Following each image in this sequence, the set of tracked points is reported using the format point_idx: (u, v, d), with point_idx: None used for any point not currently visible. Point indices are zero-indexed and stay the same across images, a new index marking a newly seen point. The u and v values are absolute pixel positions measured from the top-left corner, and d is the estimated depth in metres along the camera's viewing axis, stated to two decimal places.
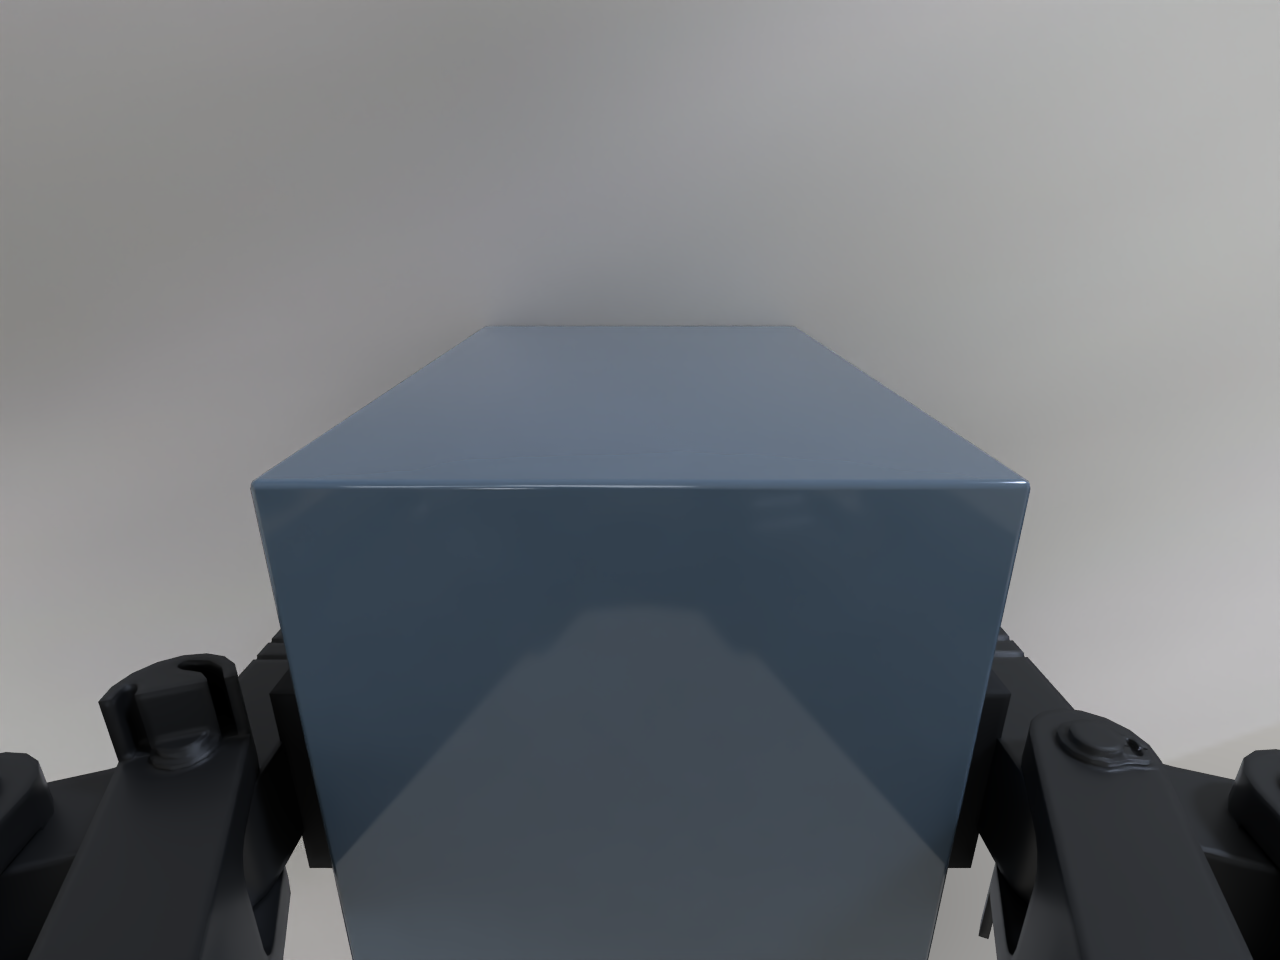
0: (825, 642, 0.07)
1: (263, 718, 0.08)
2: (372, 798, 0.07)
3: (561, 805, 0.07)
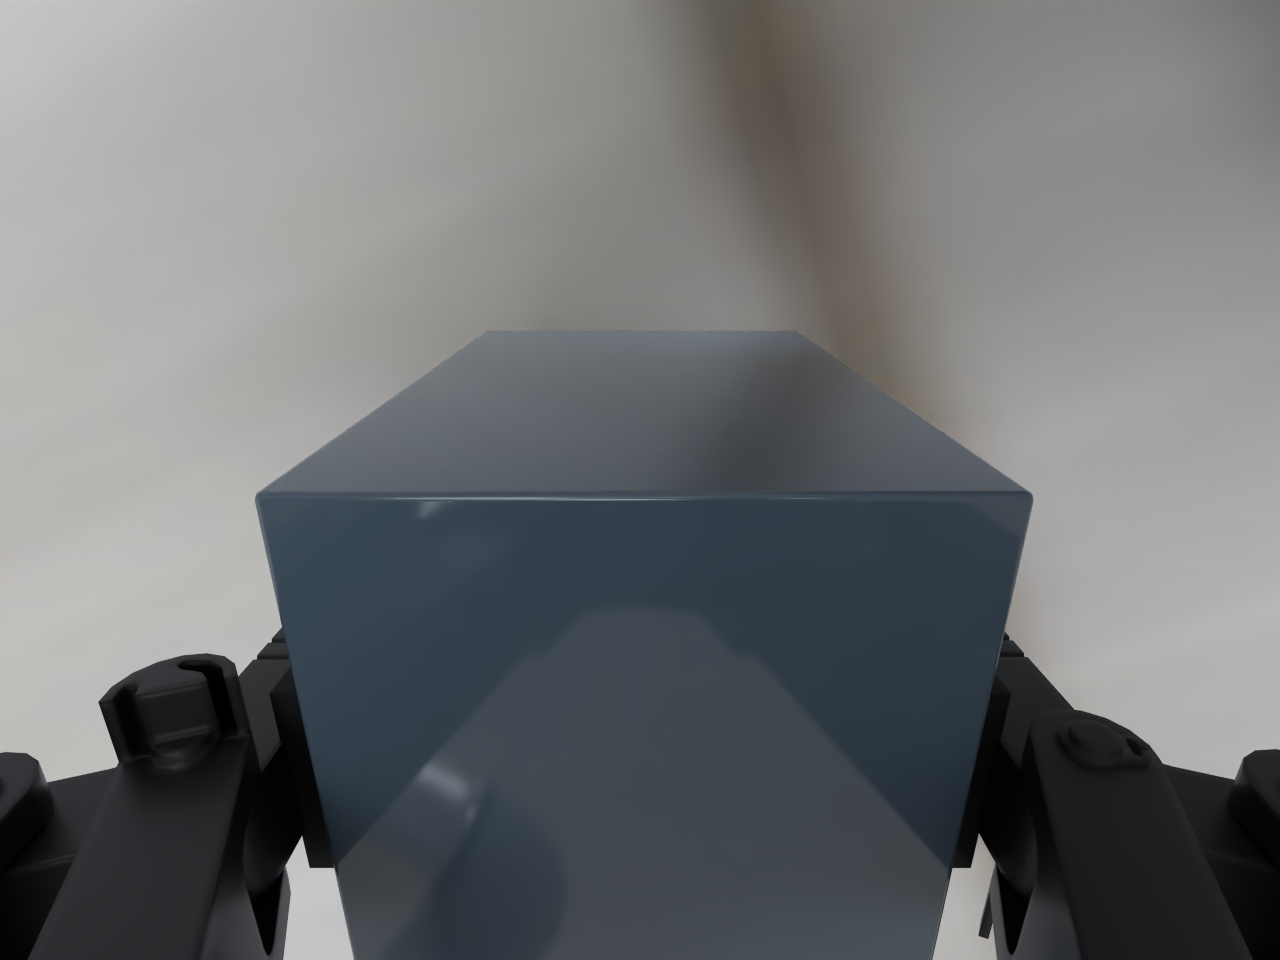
0: (829, 653, 0.07)
1: (263, 718, 0.08)
2: (376, 807, 0.07)
3: (565, 815, 0.07)
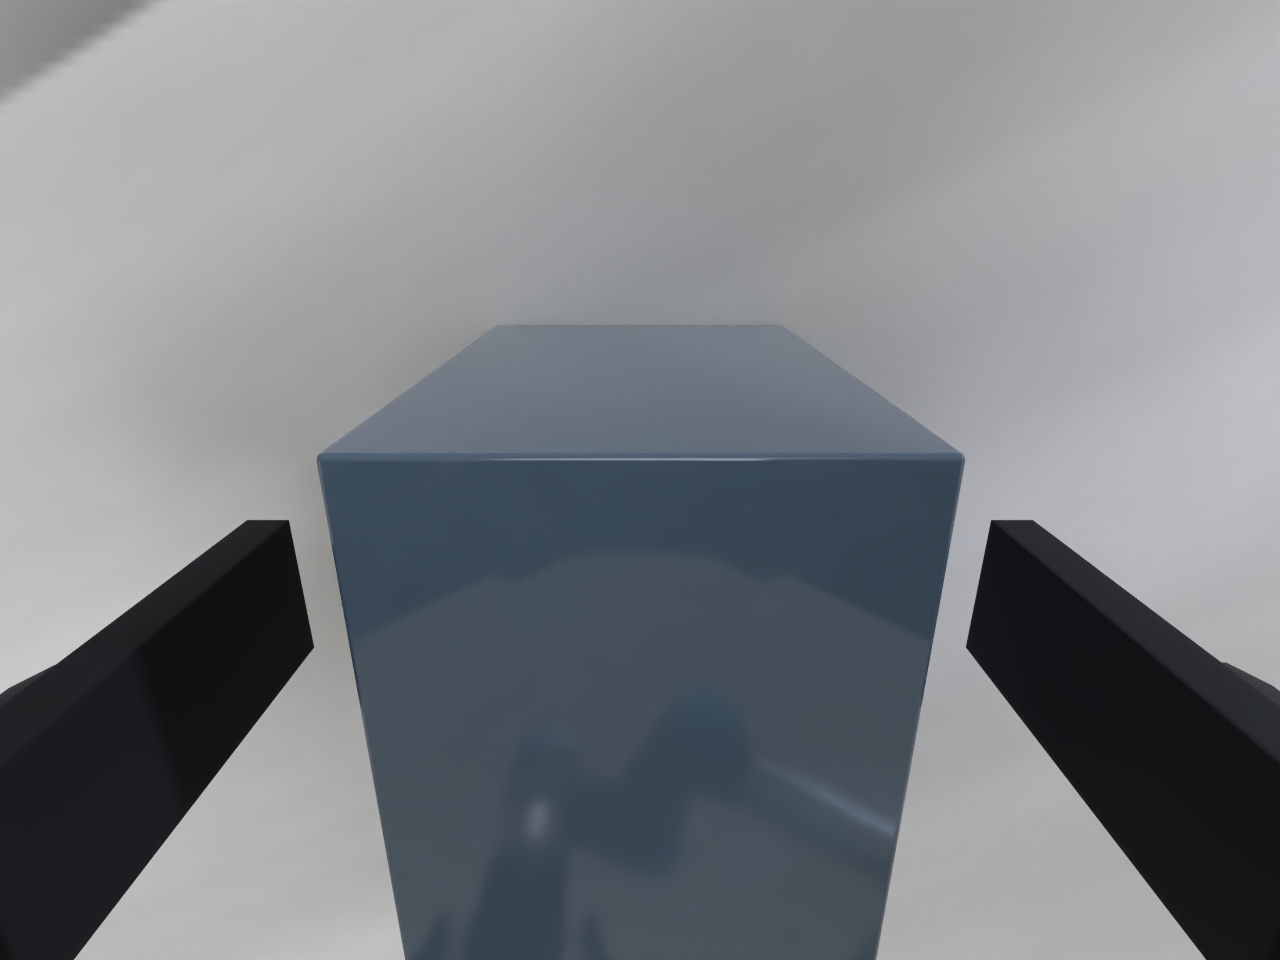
0: (798, 592, 0.08)
1: None
2: (411, 729, 0.09)
3: (573, 737, 0.09)
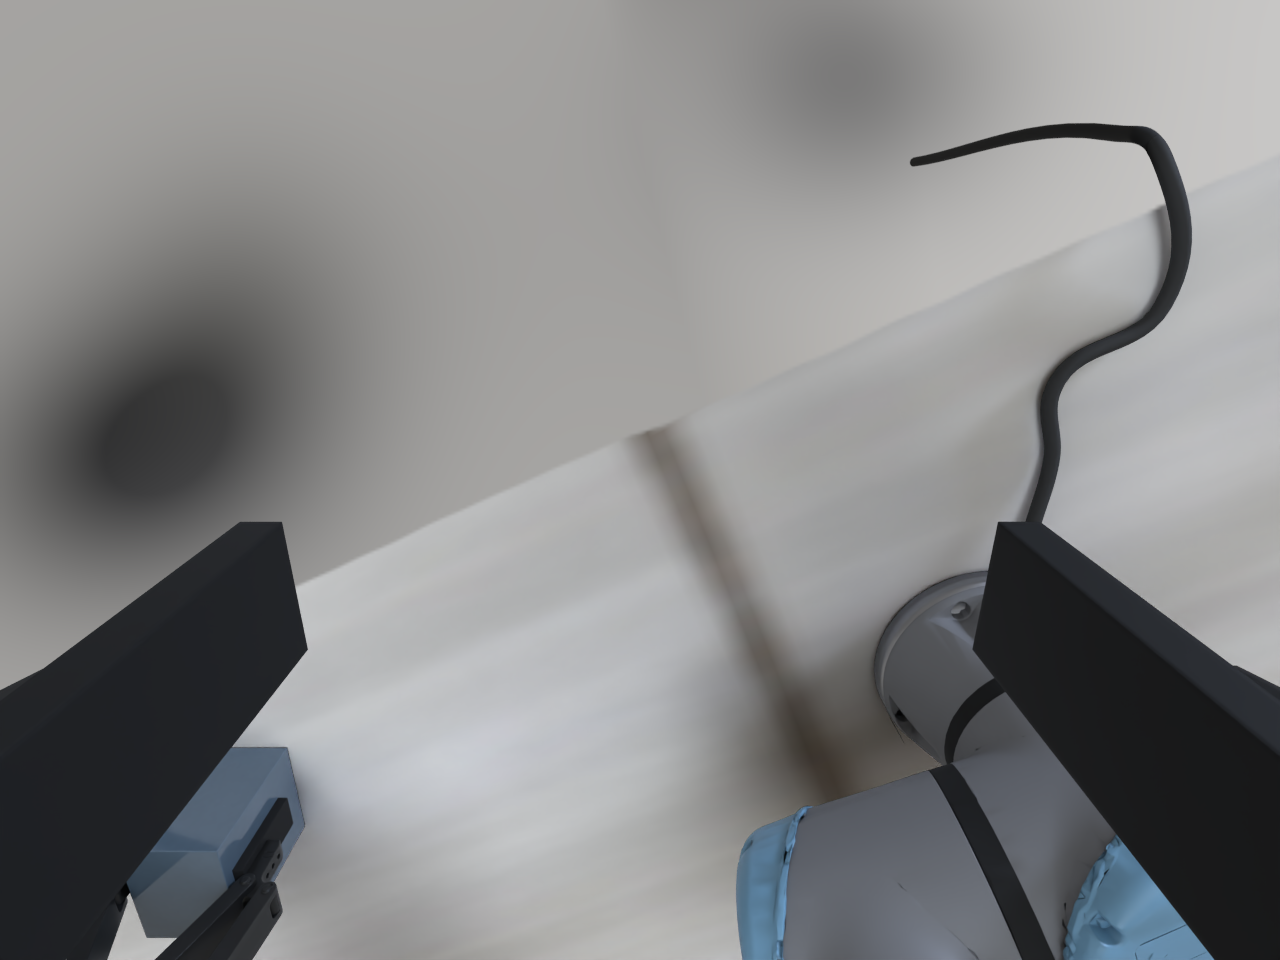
0: (197, 869, 0.47)
1: None
2: (137, 890, 0.47)
3: (166, 891, 0.47)
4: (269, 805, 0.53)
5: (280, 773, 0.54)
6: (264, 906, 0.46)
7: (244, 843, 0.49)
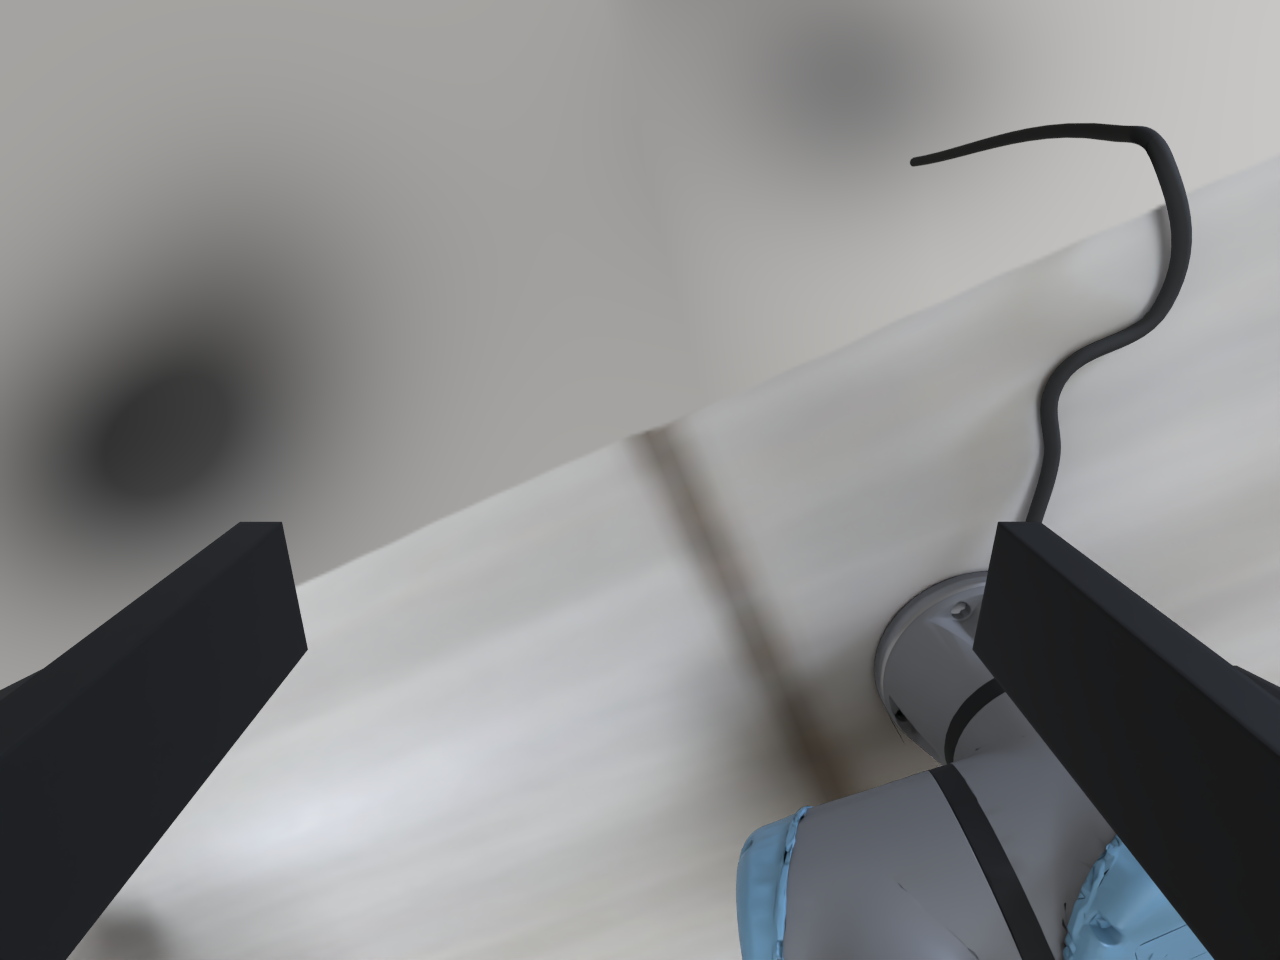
0: None
1: None
2: None
3: None
4: None
5: None
6: None
7: None
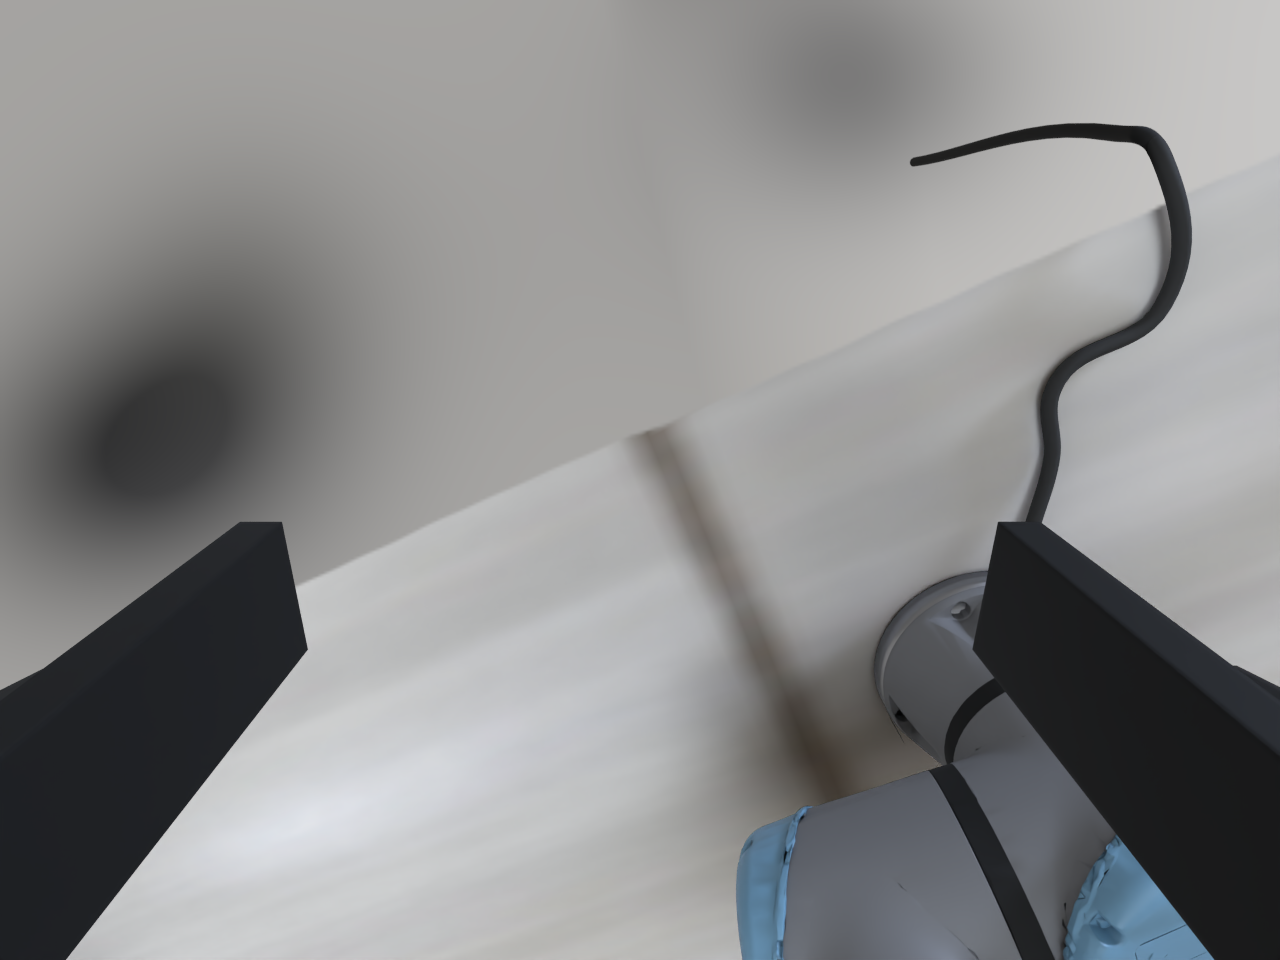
0: None
1: None
2: None
3: None
4: None
5: None
6: None
7: None
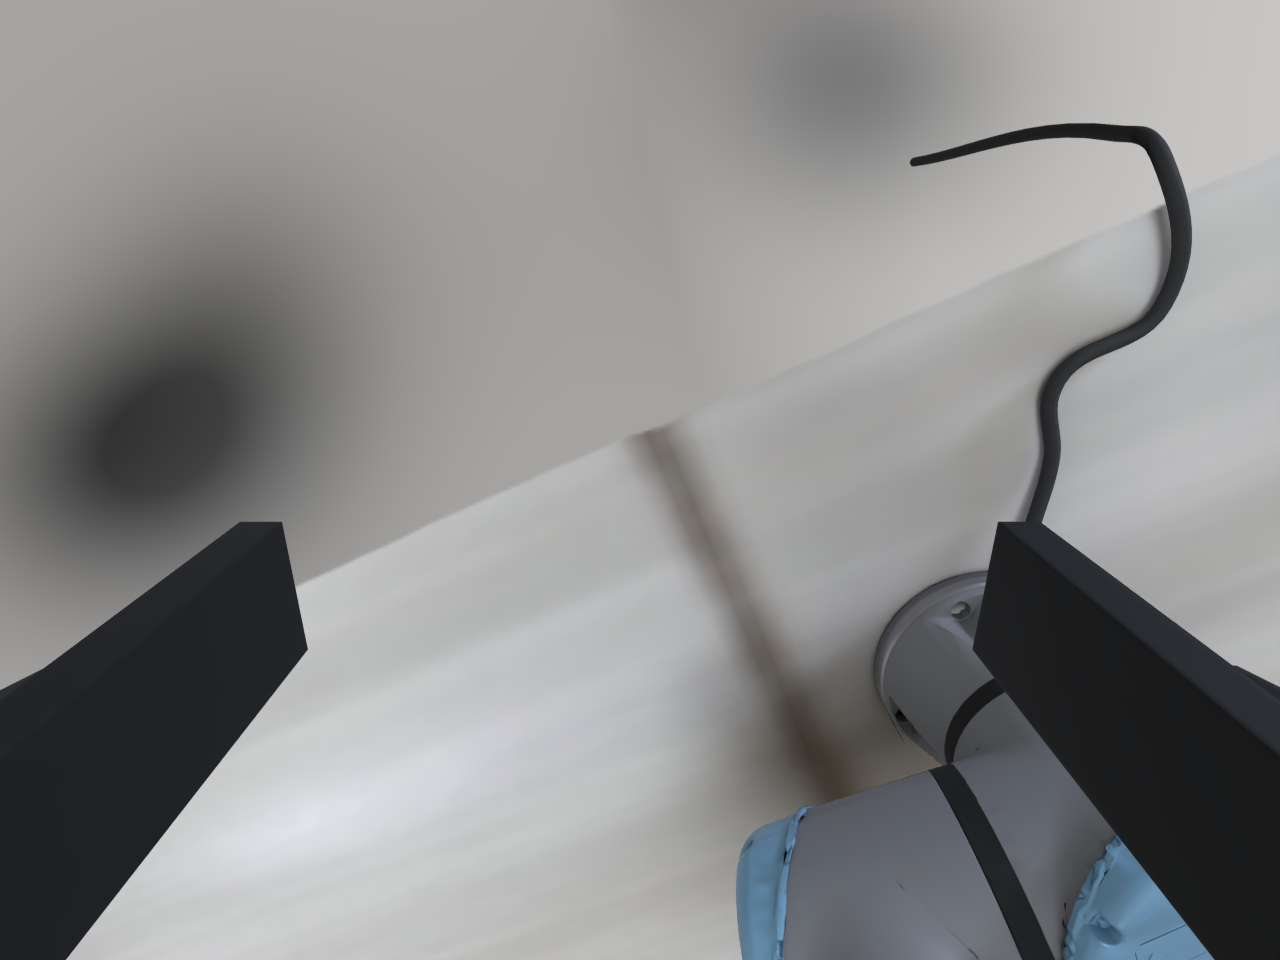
0: None
1: None
2: None
3: None
4: None
5: None
6: None
7: None
